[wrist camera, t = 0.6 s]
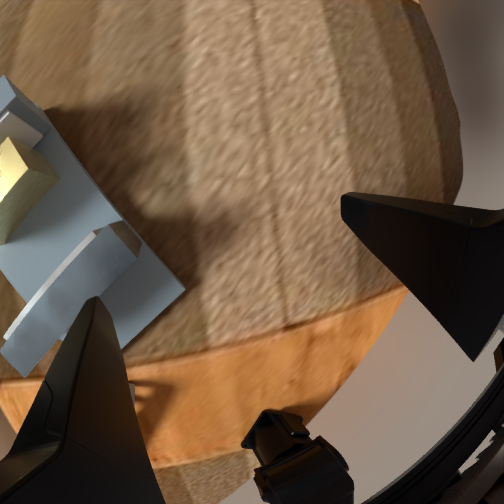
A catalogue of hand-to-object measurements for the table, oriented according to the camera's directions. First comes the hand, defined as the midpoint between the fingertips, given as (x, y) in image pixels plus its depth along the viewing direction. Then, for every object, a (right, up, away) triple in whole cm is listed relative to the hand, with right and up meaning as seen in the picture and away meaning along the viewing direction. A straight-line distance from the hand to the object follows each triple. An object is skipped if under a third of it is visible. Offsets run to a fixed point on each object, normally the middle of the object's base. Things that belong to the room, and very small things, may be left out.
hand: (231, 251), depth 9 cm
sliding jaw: (-13, -2, +12) cm, 18 cm away
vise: (-17, +1, +12) cm, 21 cm away
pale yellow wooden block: (-19, +4, +9) cm, 21 cm away
